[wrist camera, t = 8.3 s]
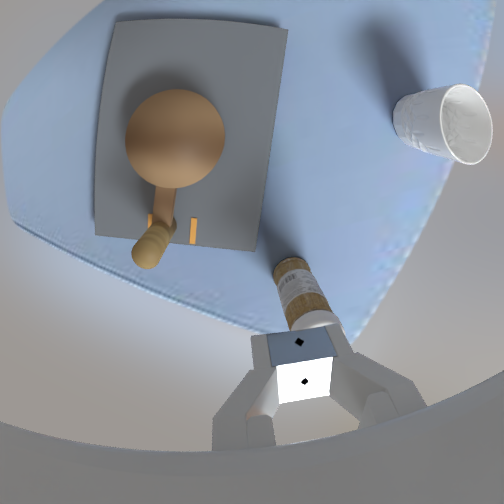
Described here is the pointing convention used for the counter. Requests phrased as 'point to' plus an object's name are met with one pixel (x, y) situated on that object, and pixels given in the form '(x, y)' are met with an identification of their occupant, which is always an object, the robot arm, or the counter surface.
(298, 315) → the sprinkles bottle
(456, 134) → the white cup
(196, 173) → the dial
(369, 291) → the counter surface
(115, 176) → the stand
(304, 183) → the counter surface
